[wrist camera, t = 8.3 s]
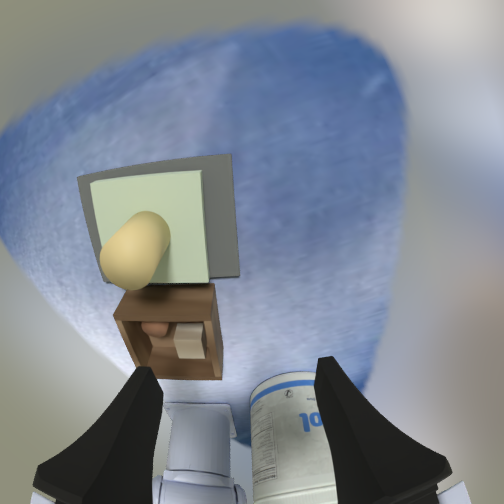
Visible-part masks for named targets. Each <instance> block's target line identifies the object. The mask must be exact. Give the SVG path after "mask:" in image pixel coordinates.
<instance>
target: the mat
mask: <svg viewBox="0 0 504 504" xmlns="http://www.w3.org/2000/svg"><path fill="white" fill-rule="evenodd" d="M196 170H202V179H203V197H204V212H205V227H206V240H207V252H208V263H209V274H210V277H226V276H240V267H239V254H238V241H237V228H236V214H235V200H234V186H233V171H232V156H231V154H221V155H209V156H199V157H190V158H181V159H173V160H165V161H158V162H151V163H145V164H139V165H133V166H127V167H121V168H116V169H111V170H106V171H101V172H96V173H92V174H87V175H83V176H79V177H77V181H78V187H79V192H80V197H81V202H82V206H83V211H84V215H85V219H86V223H87V227H88V231H89V235H90V239H91V242H92V246H93V250H94V253H95V256H96V260H97V263H98V266H99V269H100V272H101V275H102V278H103V281H104V282H111V281H110V280H109V279H108V278H107V277H106V276H105V274H104V272H103V270H102V268H101V265H100V252H101V249H102V245H101V240H100V236H99V231H98V227H97V222H96V217H95V211H94V206H93V200H92V194H91V187H90V183H92V182H94V181H97V180H104V179H111V178H119V177H127V176H136V175H145V174H156V173H167V172H180V171H196Z"/></svg>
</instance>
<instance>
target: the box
mask: <svg viewBox="0 0 504 504" xmlns="http://www.w3.org/2000/svg"><path fill="white" fill-rule="evenodd" d="M113 316H114V319H115V321H116V324H117V326H118V329H119V331H120V333H121V336H122V338H123V340H124V342H125V345H126V347H127V349H128V351H129V354H130V356H131V358H132V360H133V362H134V364H135V366H136V368H137V367H138V366H147V367H151V369H152V371H153V373H154V375H155V377H156V379H173V380H222V370H223V341H222V335H221V328H220V321H219V314H218V306H217V299H216V291H215V284H214V283H207V284H180V285H146V286H145V287H143V288H141V289H138V290H127V291H126V292H125V294H124V296H123V298H122V299H121V301H120V303H119V305H118V307H117V309H116V310H115V312H114V314H113Z"/></svg>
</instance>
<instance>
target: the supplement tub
mask: <svg viewBox="0 0 504 504" xmlns="http://www.w3.org/2000/svg"><path fill="white" fill-rule="evenodd" d="M315 375H316V373H315V372H303V371H302V372H291V373H285V374H281V375H277V376H275V377H272V378H270V379H268V380H266V381H265V382H263V383H262V384H260V385H259V386H258V387H257V388H256V389H255V390H254V391H253V393H252V395H251V398H250V413H251V447H252V476H253V499H254V504H338V501H337V491H336V482H335V475H334V468H333V462H332V456H331V451H330V447H329V443H328V440H327V437H326V433H325V430H324V427H323V424H322V420H321V417H320V414H319V410H318V407H317V402H316V397H315V391H314V380H315Z"/></svg>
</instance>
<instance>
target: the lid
mask: <svg viewBox="0 0 504 504" xmlns="http://www.w3.org/2000/svg"><path fill="white" fill-rule="evenodd" d="M90 187H91V194H92V200H93V206H94V211H95V217H96V222H97V227H98V231H99V236H100V240H101V245H102V249H101V252H100V265H101V268H102V270H103V272H104V274H105V276H106V277H107V278H108V279H109V280H110V281H111V283H113V284H115V285H116V286H118V287H120V288H122V289H126V290H138V289H141V288H143V287H145V286H146V285H147V284H148V283H209V277H210V274H209V263H208V252H207V240H206V227H205V212H204V197H203V179H202V170H196V171H180V172H167V173H156V174H145V175H136V176H127V177H119V178H111V179H104V180H97V181H94V182H92V183H90Z"/></svg>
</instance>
